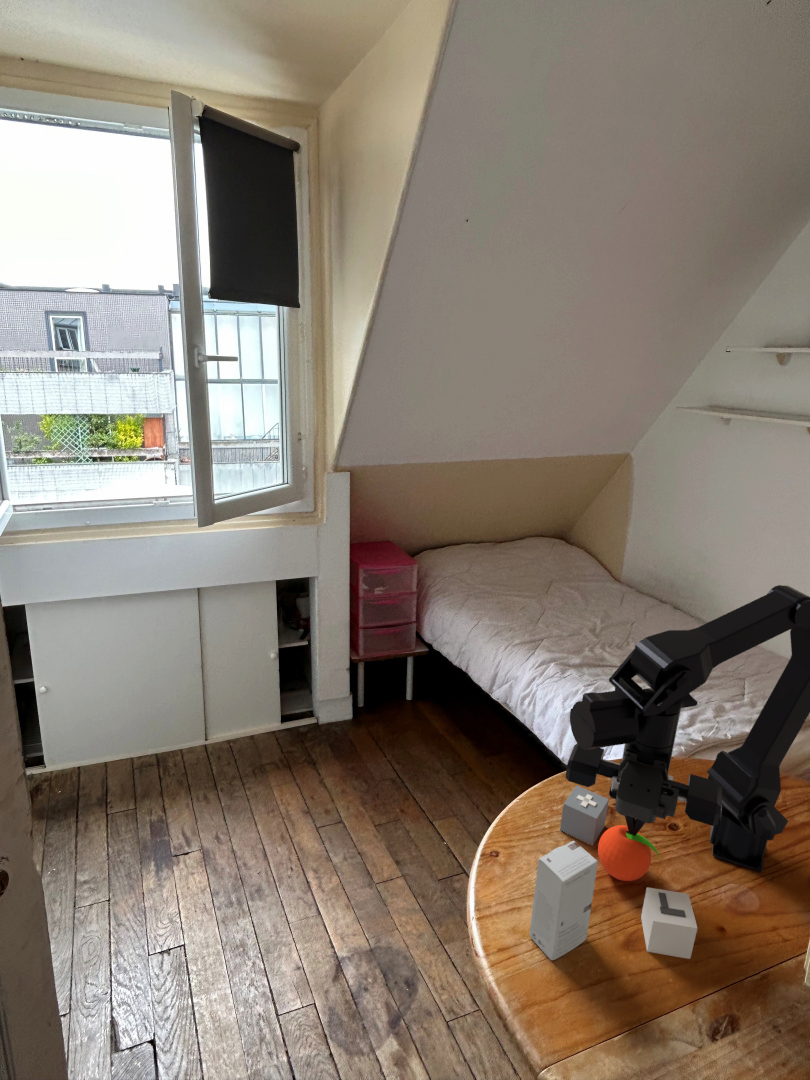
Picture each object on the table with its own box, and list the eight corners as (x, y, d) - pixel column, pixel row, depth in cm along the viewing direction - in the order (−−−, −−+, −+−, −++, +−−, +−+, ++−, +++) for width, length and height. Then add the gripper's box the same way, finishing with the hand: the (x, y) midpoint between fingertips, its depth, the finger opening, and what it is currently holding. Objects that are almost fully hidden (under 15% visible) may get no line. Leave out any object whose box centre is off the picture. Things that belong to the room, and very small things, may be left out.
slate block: (604, 826, 103) (609, 798, 101) (592, 846, 99) (596, 817, 97) (572, 811, 105) (576, 784, 103) (559, 831, 101) (563, 802, 100)
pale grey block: (681, 924, 87) (688, 892, 85) (690, 959, 82) (697, 926, 80) (640, 917, 88) (647, 886, 86) (646, 951, 83) (653, 919, 81)
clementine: (658, 867, 95) (667, 827, 93) (650, 904, 89) (659, 861, 87) (601, 846, 99) (607, 806, 96) (589, 880, 93) (596, 838, 90)
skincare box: (552, 963, 81) (564, 884, 77) (526, 935, 84) (536, 858, 80) (588, 939, 84) (601, 862, 80) (562, 912, 88) (573, 837, 84)
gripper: (562, 748, 83) (549, 849, 88) (730, 797, 76) (704, 904, 81) (581, 702, 93) (568, 796, 98) (731, 742, 85) (708, 841, 91)
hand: (632, 832), depth 92 cm, fingers closed, pressing on clementine
